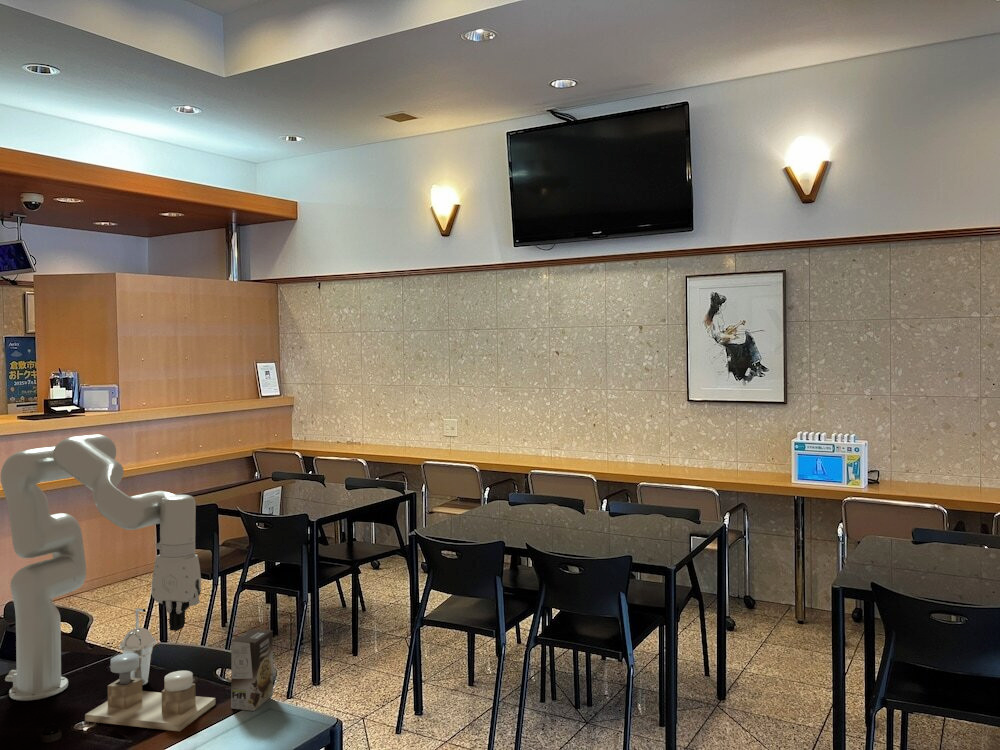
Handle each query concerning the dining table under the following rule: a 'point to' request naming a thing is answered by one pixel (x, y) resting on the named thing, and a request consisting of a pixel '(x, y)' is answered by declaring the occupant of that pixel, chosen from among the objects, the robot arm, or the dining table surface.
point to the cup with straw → (139, 648)
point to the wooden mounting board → (150, 707)
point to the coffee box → (251, 669)
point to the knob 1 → (124, 666)
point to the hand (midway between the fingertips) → (177, 628)
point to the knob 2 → (178, 680)
